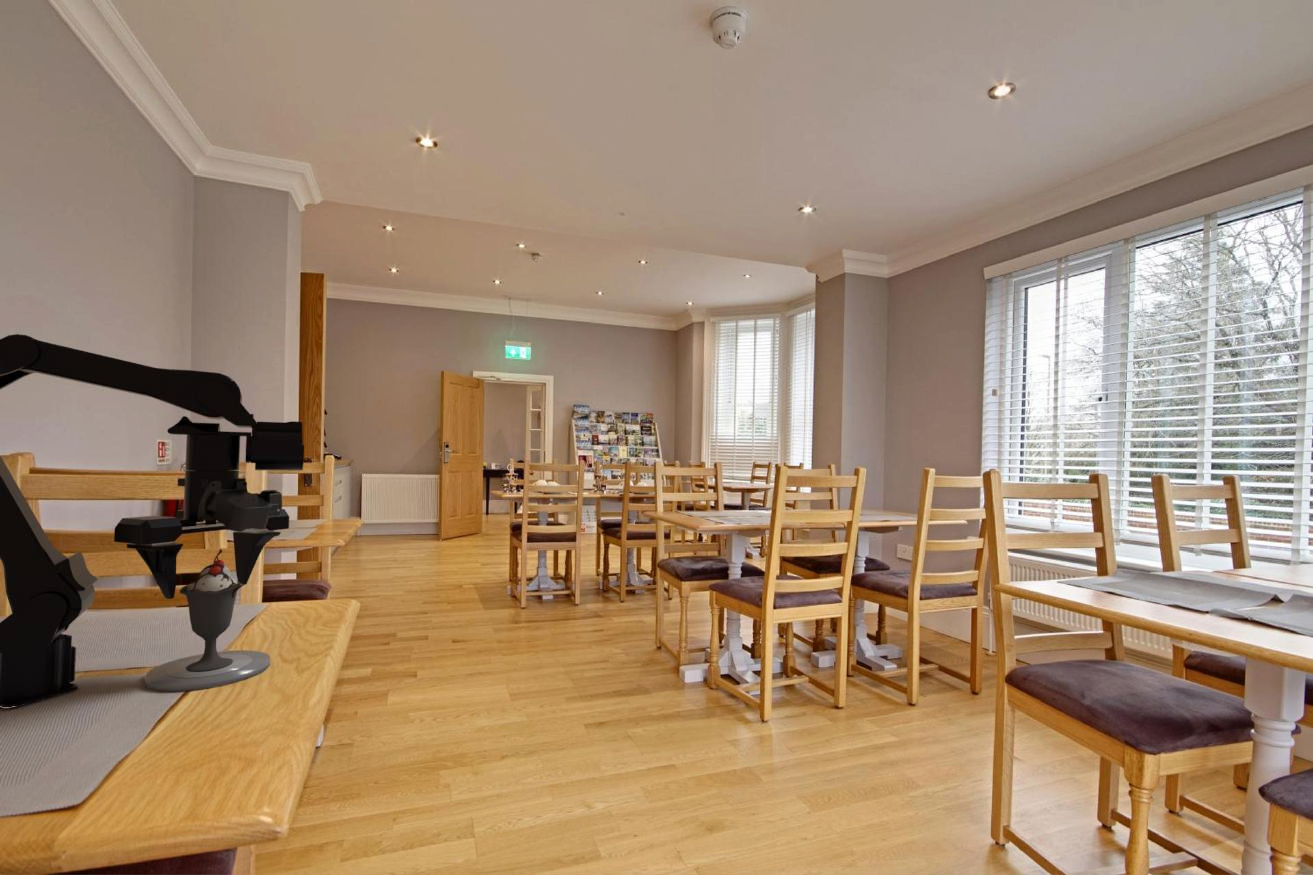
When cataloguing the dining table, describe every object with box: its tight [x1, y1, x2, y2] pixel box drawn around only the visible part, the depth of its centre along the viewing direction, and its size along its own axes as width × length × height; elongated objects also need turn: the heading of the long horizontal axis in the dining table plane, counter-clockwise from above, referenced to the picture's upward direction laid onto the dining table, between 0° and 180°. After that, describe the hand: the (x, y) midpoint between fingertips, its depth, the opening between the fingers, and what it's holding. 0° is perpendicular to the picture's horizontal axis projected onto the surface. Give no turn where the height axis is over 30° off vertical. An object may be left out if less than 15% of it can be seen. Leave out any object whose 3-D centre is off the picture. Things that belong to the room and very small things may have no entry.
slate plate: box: [144, 649, 271, 692], centre depth 80 cm, size 13×13×1 cm
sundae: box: [179, 548, 245, 672], centre depth 80 cm, size 7×7×15 cm
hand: (207, 591), depth 80 cm, fingers open, 9 cm apart
